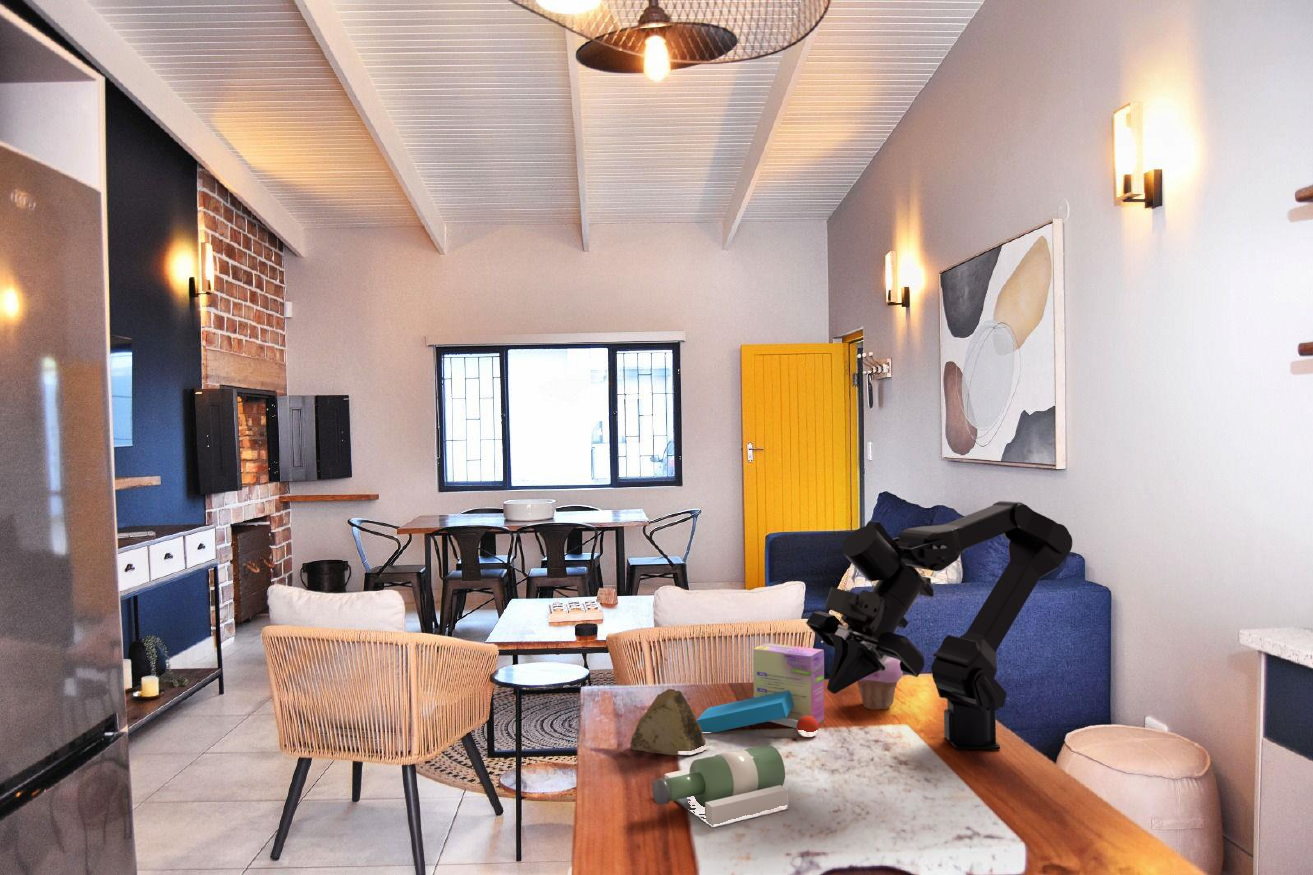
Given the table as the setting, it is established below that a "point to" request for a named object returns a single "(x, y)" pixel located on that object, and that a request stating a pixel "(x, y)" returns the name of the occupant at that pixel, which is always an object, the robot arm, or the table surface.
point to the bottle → (724, 776)
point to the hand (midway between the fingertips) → (830, 691)
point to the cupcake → (880, 686)
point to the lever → (755, 714)
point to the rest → (737, 802)
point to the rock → (668, 726)
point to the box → (791, 677)
